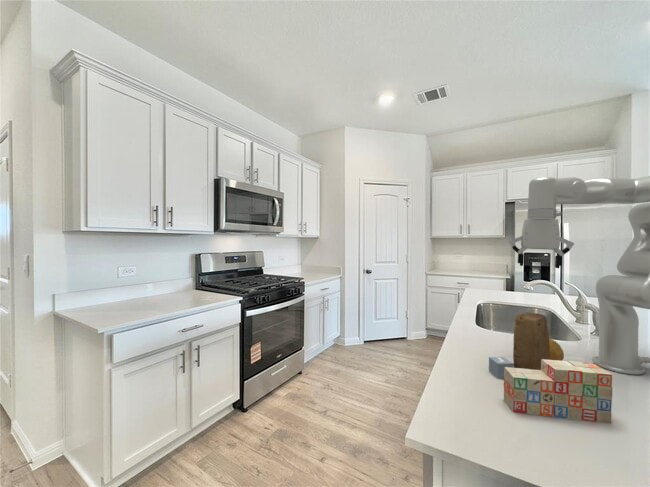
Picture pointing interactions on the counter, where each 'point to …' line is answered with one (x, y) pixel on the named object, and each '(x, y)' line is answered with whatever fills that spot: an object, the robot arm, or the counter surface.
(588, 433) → the counter surface
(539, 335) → the brown rock
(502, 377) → the alphabet block
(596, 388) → the stack of blocks
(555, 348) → the potato
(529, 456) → the counter surface
